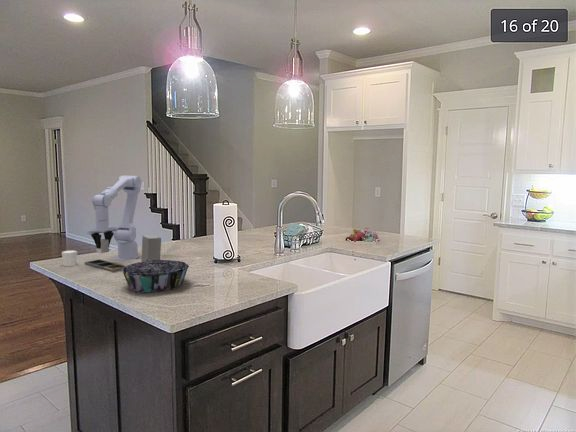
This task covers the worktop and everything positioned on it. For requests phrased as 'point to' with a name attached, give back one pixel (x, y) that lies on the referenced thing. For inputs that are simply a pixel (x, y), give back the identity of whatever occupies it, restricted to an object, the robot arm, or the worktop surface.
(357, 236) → the multicoloured flower wreath
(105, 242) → the brushed steel square tube
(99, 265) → the silver divided tray
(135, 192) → the robot arm
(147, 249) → the skincare box
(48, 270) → the worktop surface
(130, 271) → the decorative bowl
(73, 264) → the white cup
